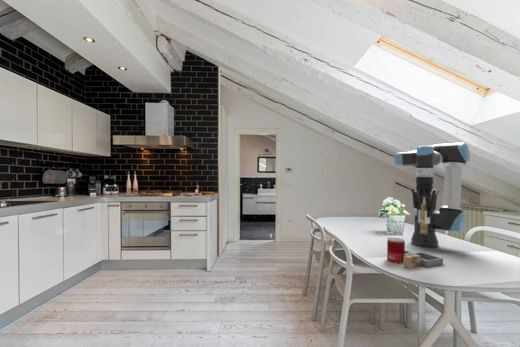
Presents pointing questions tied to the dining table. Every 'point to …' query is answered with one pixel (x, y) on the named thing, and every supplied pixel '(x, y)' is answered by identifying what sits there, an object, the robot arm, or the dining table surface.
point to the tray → (428, 259)
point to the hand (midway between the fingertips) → (424, 223)
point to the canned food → (395, 250)
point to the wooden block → (411, 261)
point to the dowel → (423, 220)
